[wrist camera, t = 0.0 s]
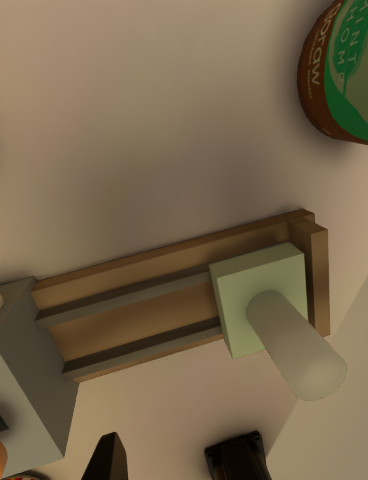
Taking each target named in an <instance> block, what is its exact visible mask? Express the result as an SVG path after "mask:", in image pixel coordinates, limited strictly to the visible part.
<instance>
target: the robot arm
mask: <svg viewBox="0 0 368 480" xmlns="http://www.w3.org/2000/svg"><path fill="white" fill-rule="evenodd" d="M204 453H205V457H206V461H207V464H208V467H209V471H210V474H211V477H212V480H272V479H271V477H270V474H269V472H268V469H267V466H266V460H265V454H264V448H263V442H262V437H261V435H260V433H259V432H255V433H252V434H249V435H246V436H243V437H240V438H237V439H234V440H231V441H228V442H226V443H223V444H220V445H217V446H214V447H211V448H208V449H206V450H205V451H204ZM81 480H128V470H127V457H126V451H125V448H124V446H123V444H122V442H121V440H120V438H119V436H118V434H117V433H116V432H112V433H109V434H106V435H103V436H102V437H101V438H100V440H99V442H98V444H97V446H96V449H95V451H94V453H93V455H92V457H91V459H90V461H89V464H88V466H87V468H86V470H85V472H84V474H83V477H82V479H81Z"/></svg>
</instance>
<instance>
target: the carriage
mask: <svg viewBox="0 0 368 480" xmlns="http://www.w3.org/2000/svg"><path fill="white" fill-rule="evenodd" d="M209 269H210V273H211V278H212V283H213V288H214V293H215V298H216V302H217V307H218V312H219V317H220V322H221V326H222V331H223V336H224V341H225V343H226V345H227V348H228V350H229V352H230V354H231V356H232V359H236V358H240V357H243V356H246V355H249V354H252V353H256V352H259V351H262V350H265V349H266V350H267V352H268V353H269V355H270V356H271V358H272V360H273V361H274V363H275V364H276V366H277V368H278V369H279V371H280V372H281V374H282V376H283V377H284V379H285V380H286V382H287V384H288V385H289V387H290V388H291V390H292V392H293V393H294V395H295V396H296V397H298V398H299V399H301V400H305V401H314V400H318V399H322V398H324V397H326V396H328V395H330V394H331V393H333V392H334V391H335V390H336V389H337V388H338V387H339V386H340V385H341V384H342V382H343V381H344V379H345V377H346V374H347V365H346V363H345V361H344V359H343V358H342V357H341V356H340V355H339V354H338V353H337V352H336V351H335V350H334V349H333V348H332V347H331V346H330V345H329V343H328V342H327V341H326V340H325V339H324V338H323V337H322V336H321V335H320V334H319V333H318V332H317V331H316V330H315V329H314V328H313V326H312V325H311V324H310V323H309V322H308V313H307V297H306V280H305V263H304V253H303V252H301V251H300V250H299V249H297V248H296V247H294V246H293V245H291V244H290V243H284V244H281V245H277V246H274V247H270V248H267V249H263V250H260V251H256V252H253V253H249V254H245V255H242V256H238V257H235V258H231V259H228V260H224V261H221V262H217V263H214V264H210V265H209Z"/></svg>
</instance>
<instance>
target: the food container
mask: <svg viewBox="0 0 368 480" xmlns="http://www.w3.org/2000/svg"><path fill="white" fill-rule="evenodd" d="M297 87H298V94H299V99H300V102H301V106H302V108H303V110H304V112H305V114H306V116H307V118H308V119H309V121H310V122H311V123H312V124H313V125H314V126H315V127H316V128H317V129H318V130H319V131H320V132H322V133H323V134H325V135H327V136H329V137H332V138H335V139H339V140H344V141H349V142H354V143H359V144H364V145H368V0H336V1H335V2H334V3H333V4H332V5H331V6H330V7H329V8H328V9H327V10H326V11H325V12H323V13H322V14H321V15H320V16H319V17H318V19H317V21H316V22H315V24H314V26H313V28H312V29H311V31H310V33H309V34H308V36H307V38H306V40H305V42H304V45H303V49H302V52H301V55H300V59H299V64H298V71H297Z"/></svg>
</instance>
